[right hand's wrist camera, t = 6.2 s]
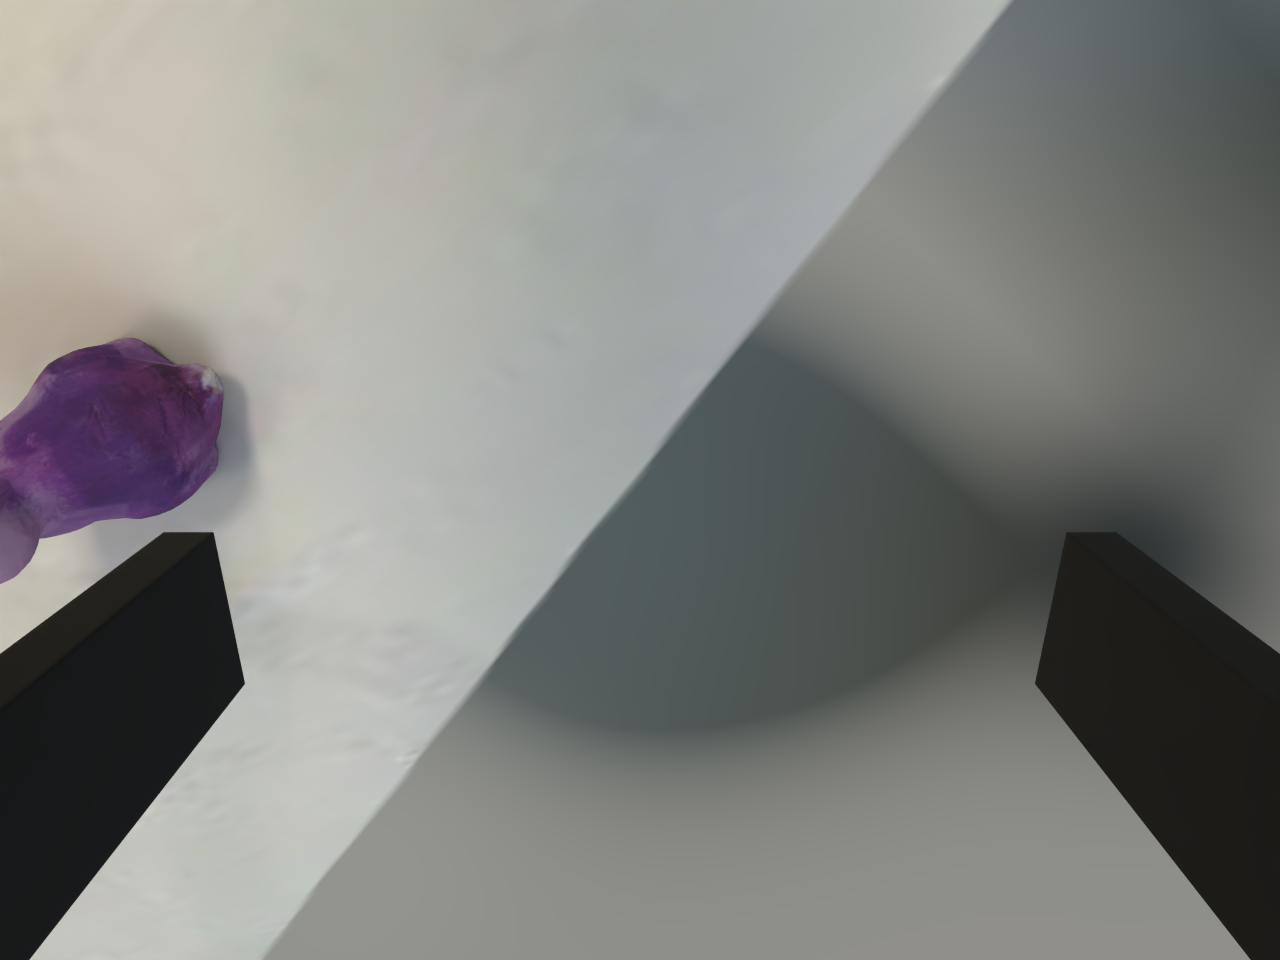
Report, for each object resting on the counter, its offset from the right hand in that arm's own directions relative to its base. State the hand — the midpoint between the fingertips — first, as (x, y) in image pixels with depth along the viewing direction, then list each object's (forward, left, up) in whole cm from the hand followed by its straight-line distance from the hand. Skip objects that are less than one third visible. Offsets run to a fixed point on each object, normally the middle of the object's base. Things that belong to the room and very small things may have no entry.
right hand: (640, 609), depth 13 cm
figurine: (+6, -25, -28) cm, 38 cm away
